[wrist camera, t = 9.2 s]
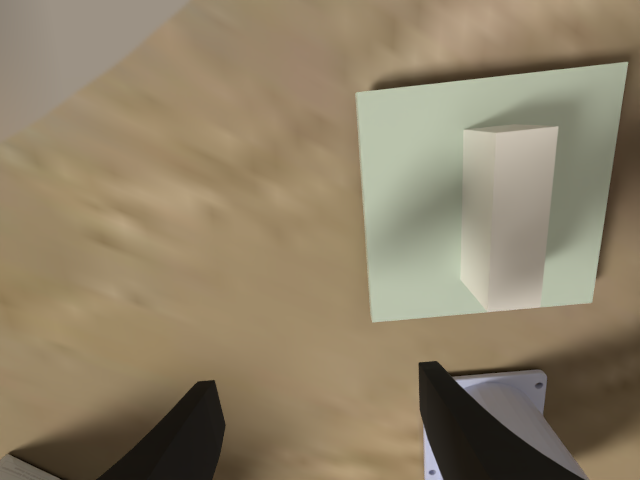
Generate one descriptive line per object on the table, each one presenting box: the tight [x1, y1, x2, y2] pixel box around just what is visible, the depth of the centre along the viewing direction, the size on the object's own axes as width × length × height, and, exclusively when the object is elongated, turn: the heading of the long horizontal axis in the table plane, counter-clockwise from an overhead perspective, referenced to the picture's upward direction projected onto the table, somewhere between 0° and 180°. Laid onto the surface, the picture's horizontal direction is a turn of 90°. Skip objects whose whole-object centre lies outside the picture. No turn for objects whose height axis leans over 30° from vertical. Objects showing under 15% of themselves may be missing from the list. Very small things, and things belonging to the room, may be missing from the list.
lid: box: [355, 62, 628, 322], centre depth 18 cm, size 12×12×5 cm
